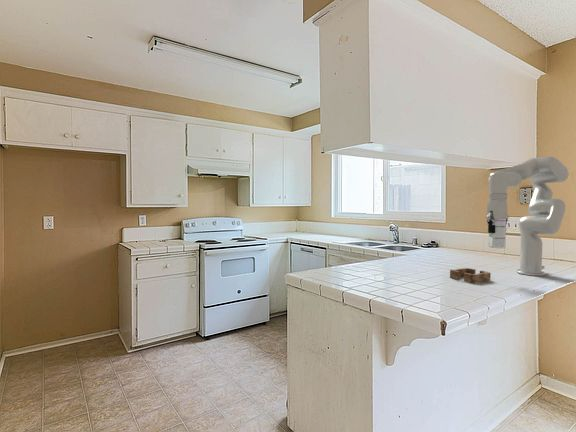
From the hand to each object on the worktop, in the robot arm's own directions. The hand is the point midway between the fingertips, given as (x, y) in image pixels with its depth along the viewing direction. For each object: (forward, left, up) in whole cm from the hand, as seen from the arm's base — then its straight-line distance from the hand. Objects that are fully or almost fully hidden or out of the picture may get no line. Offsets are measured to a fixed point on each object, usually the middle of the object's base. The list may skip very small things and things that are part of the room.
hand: (497, 232), depth 163 cm
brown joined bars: (+9, -7, -24) cm, 27 cm away
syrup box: (0, 0, -8) cm, 8 cm away
